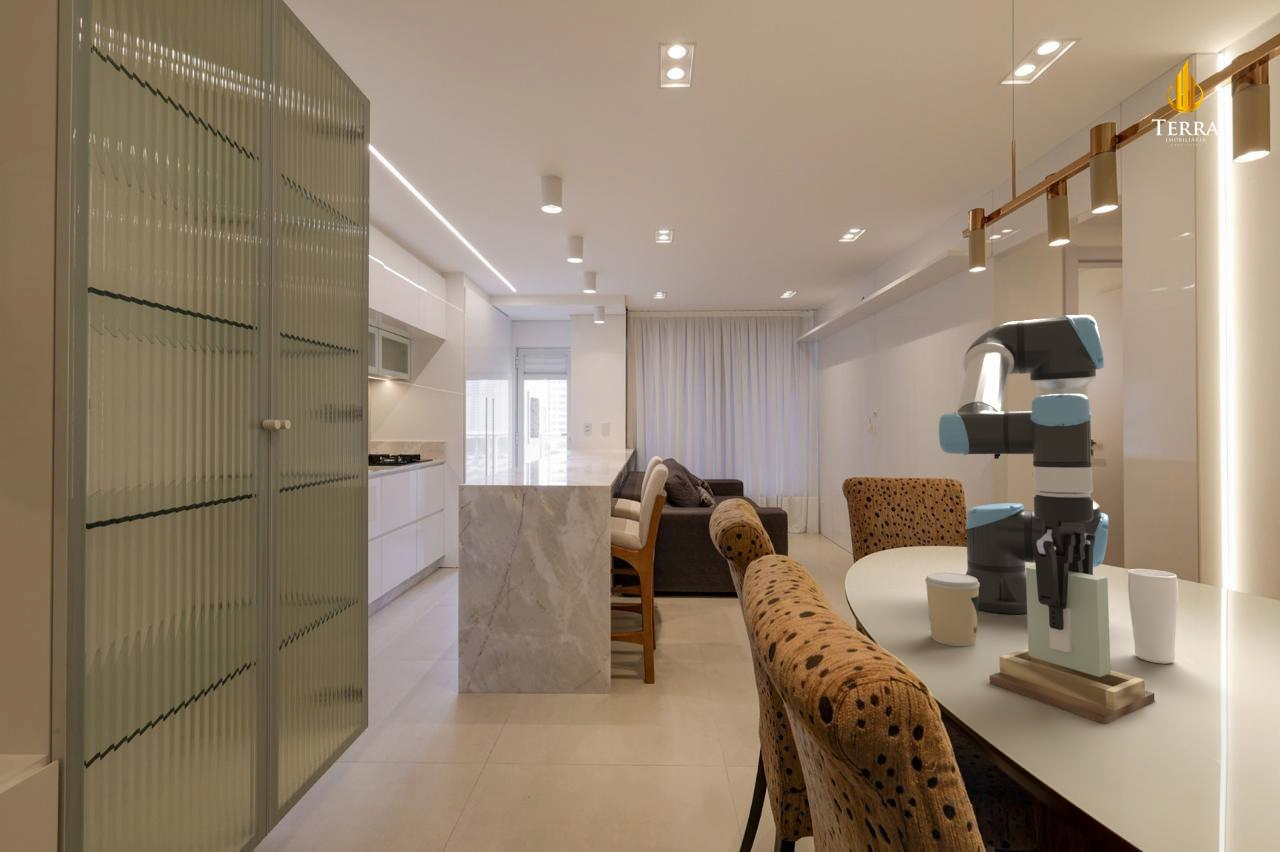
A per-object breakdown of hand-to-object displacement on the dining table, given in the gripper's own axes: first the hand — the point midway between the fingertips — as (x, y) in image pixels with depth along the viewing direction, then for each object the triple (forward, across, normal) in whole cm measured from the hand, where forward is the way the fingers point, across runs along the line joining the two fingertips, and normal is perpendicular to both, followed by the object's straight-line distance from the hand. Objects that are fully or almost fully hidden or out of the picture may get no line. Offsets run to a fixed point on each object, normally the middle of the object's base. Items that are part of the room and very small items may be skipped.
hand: (1067, 647), depth 93 cm
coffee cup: (+7, -7, -24) cm, 26 cm away
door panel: (+3, 0, 0) cm, 3 cm away
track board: (+7, 0, 0) cm, 7 cm away
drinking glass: (+7, -27, 0) cm, 28 cm away
